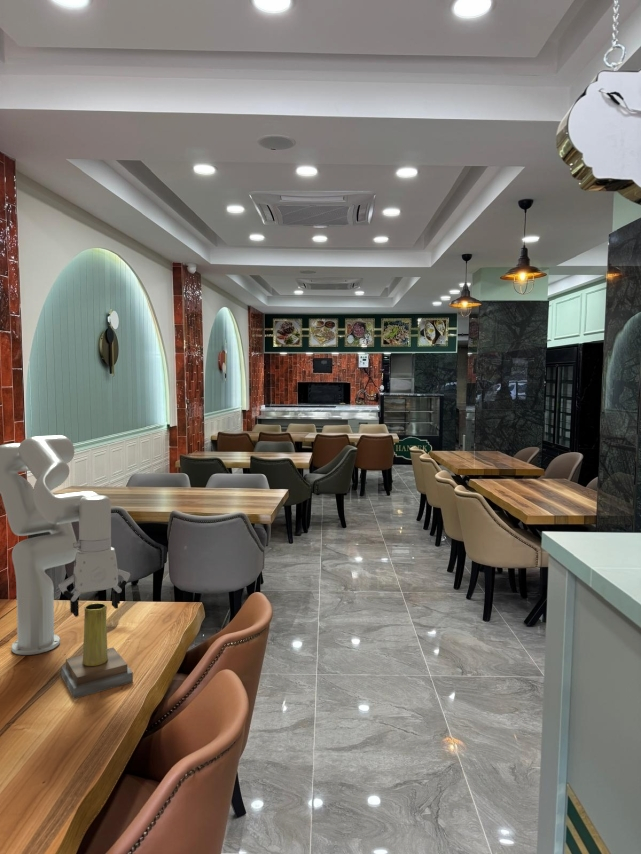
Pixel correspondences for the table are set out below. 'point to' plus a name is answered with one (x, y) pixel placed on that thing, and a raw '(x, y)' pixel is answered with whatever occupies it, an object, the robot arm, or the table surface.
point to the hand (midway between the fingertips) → (95, 610)
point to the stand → (95, 674)
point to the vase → (95, 635)
